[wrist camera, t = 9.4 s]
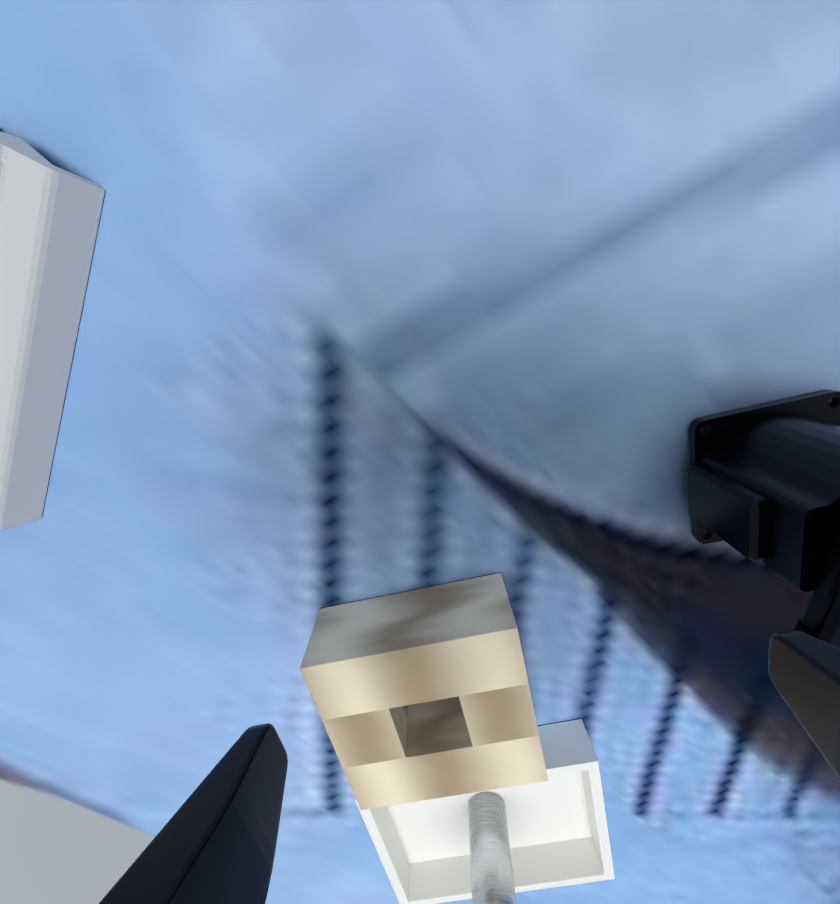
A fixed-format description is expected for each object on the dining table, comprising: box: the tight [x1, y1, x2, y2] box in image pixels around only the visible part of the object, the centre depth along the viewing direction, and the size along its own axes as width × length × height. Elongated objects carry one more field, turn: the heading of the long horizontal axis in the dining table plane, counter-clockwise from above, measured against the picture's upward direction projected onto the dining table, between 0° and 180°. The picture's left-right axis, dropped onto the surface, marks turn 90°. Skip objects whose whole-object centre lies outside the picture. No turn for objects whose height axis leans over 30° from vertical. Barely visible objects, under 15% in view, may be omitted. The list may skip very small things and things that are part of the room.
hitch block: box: [300, 573, 548, 810], centre depth 22 cm, size 10×10×4 cm
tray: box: [355, 719, 615, 904], centre depth 26 cm, size 14×11×2 cm
